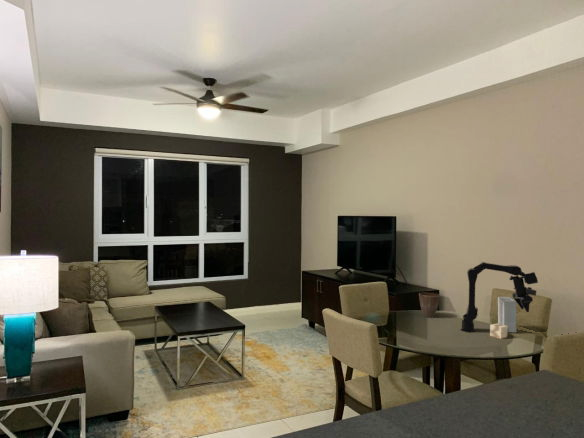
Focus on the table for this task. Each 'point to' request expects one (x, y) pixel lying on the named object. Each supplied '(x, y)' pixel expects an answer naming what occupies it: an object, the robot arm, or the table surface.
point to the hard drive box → (507, 313)
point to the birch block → (498, 331)
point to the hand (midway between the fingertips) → (525, 310)
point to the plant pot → (429, 303)
